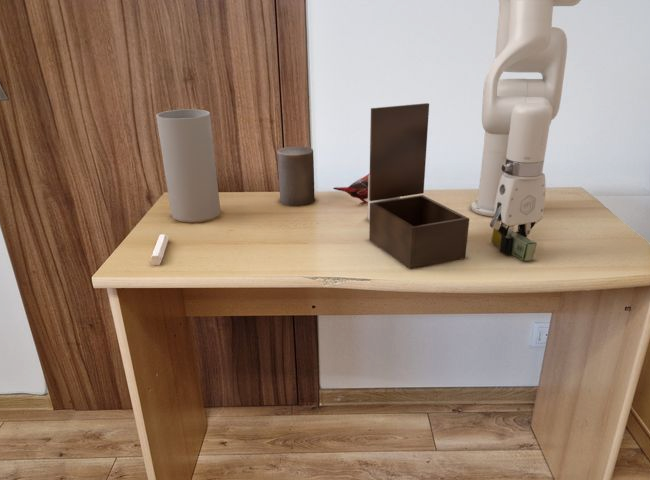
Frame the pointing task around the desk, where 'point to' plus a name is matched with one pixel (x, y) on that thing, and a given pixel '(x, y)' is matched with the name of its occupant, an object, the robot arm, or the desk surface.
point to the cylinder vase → (189, 164)
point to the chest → (418, 231)
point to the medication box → (518, 245)
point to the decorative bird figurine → (357, 189)
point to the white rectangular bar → (159, 249)
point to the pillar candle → (296, 176)
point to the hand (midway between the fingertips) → (512, 251)
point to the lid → (398, 150)
